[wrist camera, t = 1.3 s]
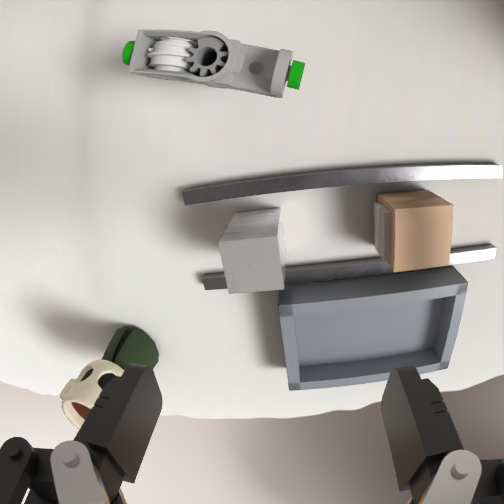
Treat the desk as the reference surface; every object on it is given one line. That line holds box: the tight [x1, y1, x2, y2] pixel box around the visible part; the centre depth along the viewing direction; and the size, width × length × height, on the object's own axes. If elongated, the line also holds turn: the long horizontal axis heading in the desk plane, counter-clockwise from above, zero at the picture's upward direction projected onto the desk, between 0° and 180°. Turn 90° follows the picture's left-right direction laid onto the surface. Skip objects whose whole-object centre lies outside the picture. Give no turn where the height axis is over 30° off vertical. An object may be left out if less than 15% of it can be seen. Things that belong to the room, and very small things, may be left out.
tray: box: [278, 266, 468, 391], centre depth 29 cm, size 18×11×4 cm, turn 98°
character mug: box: [60, 327, 159, 429], centre depth 29 cm, size 11×7×13 cm, turn 90°
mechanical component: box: [122, 30, 305, 98], centre depth 18 cm, size 3×10×10 cm, turn 77°
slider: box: [374, 190, 453, 272], centre depth 23 cm, size 6×5×5 cm
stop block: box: [218, 208, 286, 294], centre depth 25 cm, size 4×4×7 cm
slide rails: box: [182, 164, 502, 290], centre depth 26 cm, size 30×10×1 cm, turn 98°
